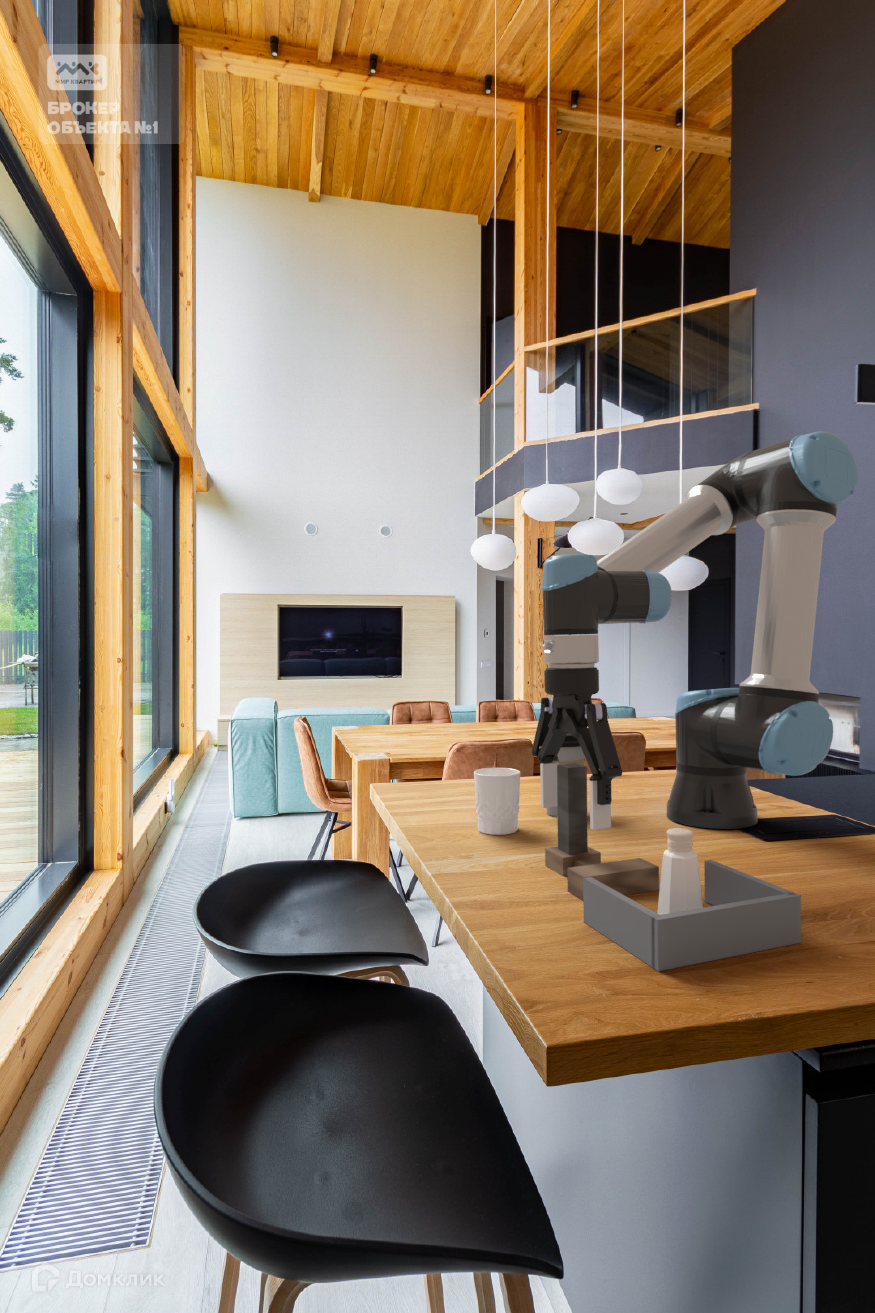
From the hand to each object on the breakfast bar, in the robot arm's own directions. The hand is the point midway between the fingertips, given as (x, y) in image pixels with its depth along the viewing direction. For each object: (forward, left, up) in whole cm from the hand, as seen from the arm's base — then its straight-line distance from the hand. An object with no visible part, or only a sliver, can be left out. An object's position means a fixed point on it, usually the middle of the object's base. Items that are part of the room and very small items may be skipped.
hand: (573, 817), depth 102 cm
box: (0, +24, -7) cm, 25 cm away
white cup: (+1, -23, -7) cm, 24 cm away
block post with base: (0, +5, -7) cm, 9 cm away
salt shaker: (+1, +23, -7) cm, 25 cm away
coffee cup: (-15, -29, -7) cm, 33 cm away
